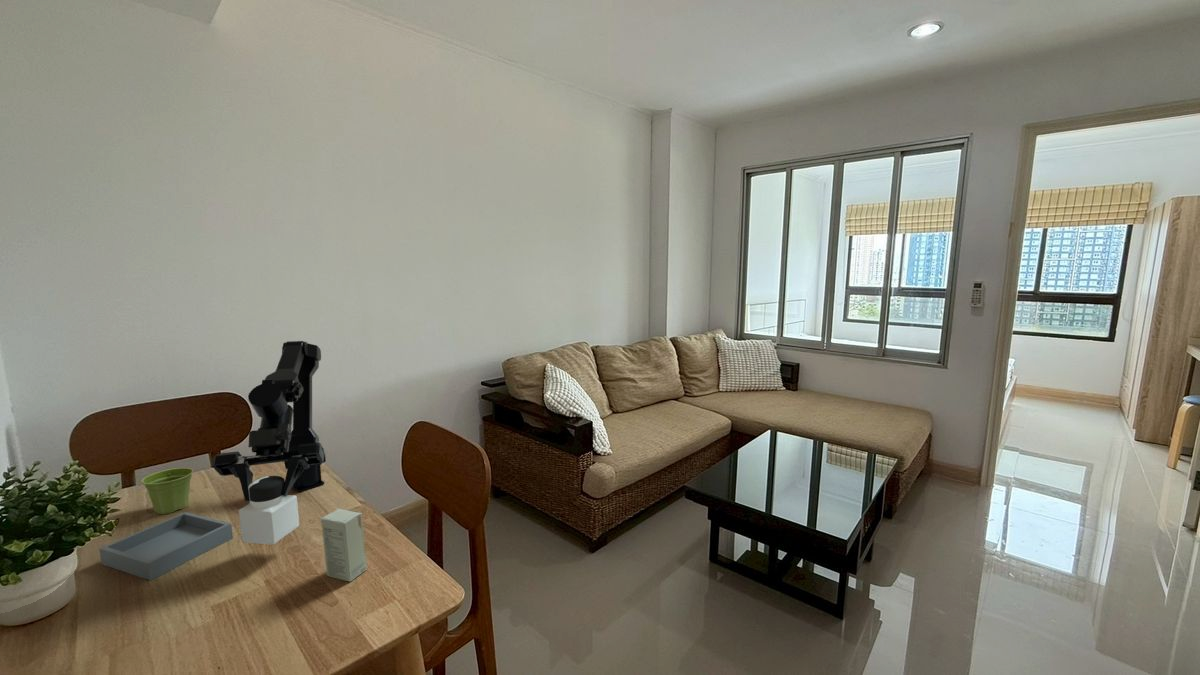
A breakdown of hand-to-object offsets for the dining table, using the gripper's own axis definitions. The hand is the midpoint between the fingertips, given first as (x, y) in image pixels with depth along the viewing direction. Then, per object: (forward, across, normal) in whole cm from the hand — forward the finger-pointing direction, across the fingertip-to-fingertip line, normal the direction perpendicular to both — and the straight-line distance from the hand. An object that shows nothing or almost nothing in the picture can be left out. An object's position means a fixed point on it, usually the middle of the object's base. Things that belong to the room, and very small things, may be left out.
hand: (265, 498), depth 94 cm
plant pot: (-13, -28, +33) cm, 45 cm away
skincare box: (+17, +15, +2) cm, 23 cm away
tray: (+2, -21, +17) cm, 27 cm away
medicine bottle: (+5, 0, +7) cm, 9 cm away
